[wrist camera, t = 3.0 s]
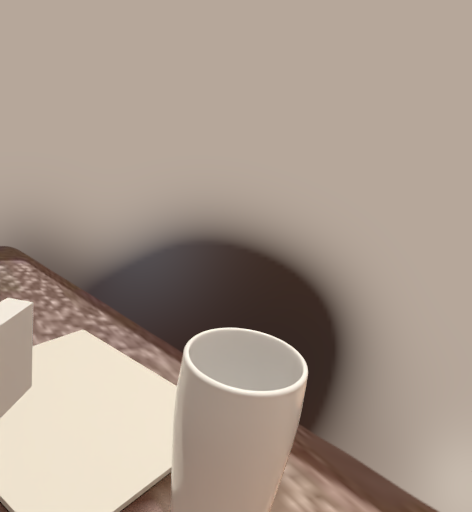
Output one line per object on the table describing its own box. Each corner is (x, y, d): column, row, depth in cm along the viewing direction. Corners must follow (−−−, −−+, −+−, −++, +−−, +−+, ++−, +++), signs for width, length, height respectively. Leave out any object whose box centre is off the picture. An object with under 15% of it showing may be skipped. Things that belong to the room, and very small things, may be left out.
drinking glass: (255, 641, 24) (311, 408, 20) (136, 608, 25) (165, 376, 21) (265, 534, 31) (309, 340, 26) (170, 510, 32) (198, 317, 27)
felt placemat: (-97, 394, 38) (-98, 389, 38) (82, 333, 53) (83, 329, 53) (54, 561, 27) (55, 555, 27) (231, 424, 41) (232, 420, 41)
